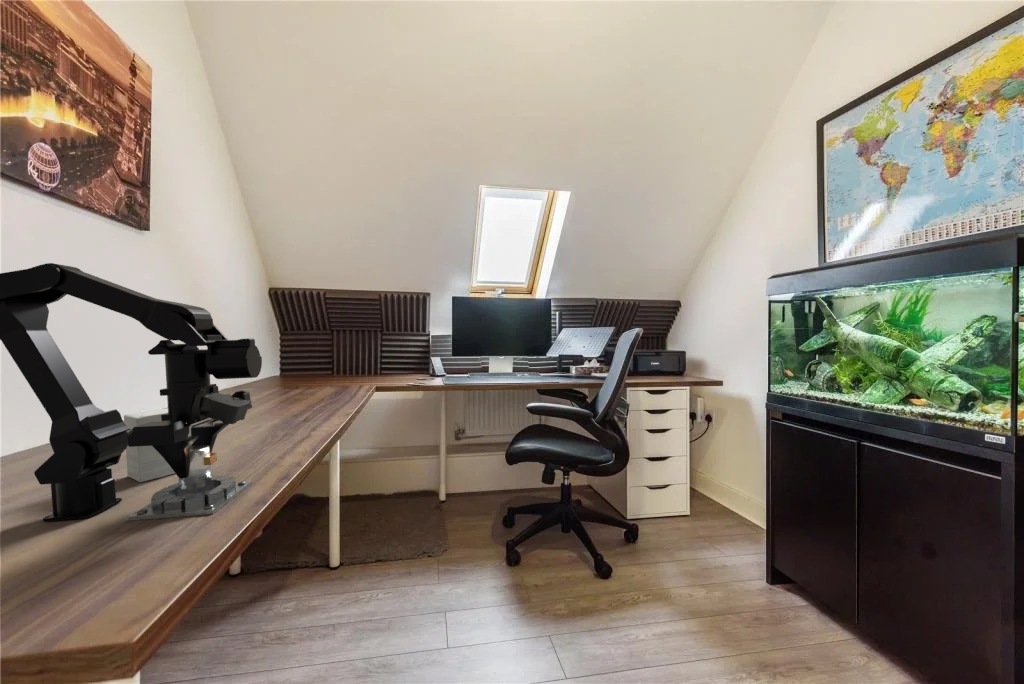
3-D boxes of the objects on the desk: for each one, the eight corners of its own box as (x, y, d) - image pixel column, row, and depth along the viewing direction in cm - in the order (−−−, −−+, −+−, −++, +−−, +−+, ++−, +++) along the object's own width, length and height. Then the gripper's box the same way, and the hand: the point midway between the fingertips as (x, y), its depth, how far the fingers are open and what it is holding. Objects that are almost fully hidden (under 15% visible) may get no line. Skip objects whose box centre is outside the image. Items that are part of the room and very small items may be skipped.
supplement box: (186, 471, 83) (182, 410, 82) (138, 483, 76) (134, 417, 76) (172, 465, 87) (168, 407, 86) (126, 476, 80) (122, 414, 80)
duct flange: (127, 520, 61) (126, 506, 61) (181, 489, 73) (181, 477, 73) (212, 514, 63) (212, 500, 63) (252, 484, 75) (251, 472, 74)
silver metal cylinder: (172, 490, 65) (168, 456, 65) (190, 478, 70) (186, 445, 69) (208, 488, 66) (204, 454, 65) (223, 476, 71) (220, 443, 70)
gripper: (205, 386, 59) (211, 491, 59) (267, 372, 77) (270, 452, 78) (121, 390, 57) (128, 497, 58) (204, 374, 76) (208, 456, 76)
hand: (193, 472), depth 68 cm, fingers closed on silver metal cylinder, 5 cm apart
